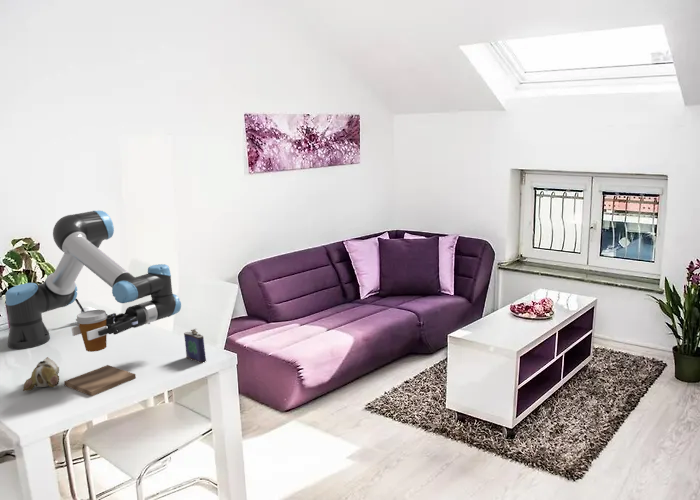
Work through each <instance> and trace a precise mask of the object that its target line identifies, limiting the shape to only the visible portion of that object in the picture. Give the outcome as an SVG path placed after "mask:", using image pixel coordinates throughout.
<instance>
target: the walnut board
mask: <svg viewBox="0 0 700 500" xmlns="http://www.w3.org/2000/svg"><path fill="white" fill-rule="evenodd" d="M136 376H137V375H136V373H133V372H130V371H128V370H124V369H121V368H118V367H115V366H111V365H109V364H106V365H103V366H101V367H98V368H96V369H93V370H91V371H88V372H86V373H82V374H80V375H78V376H75V377H72V378H70V379H66V380H64V381H63V383H64V386H65V387H67V388H70V389H72V390H76V391H78V392H80V393H82V394H85V395H87V396H90V397H94V396H95V395H99V394H101V393H103V392H106V391H109V390H110V389H114V388H115V387H119V386H120V385H122V384H125V383H127V382H128V383H129V382H130V381H133V380H135V379H136V378H137V377H136Z"/></svg>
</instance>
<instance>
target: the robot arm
mask: <svg viewBox="0 0 700 500" xmlns="http://www.w3.org/2000/svg"><path fill="white" fill-rule="evenodd" d="M114 229H115V227H114V223H113V220H112V218H111V216H110V215H109V214H108V213H107V212H106V211H103V210H92V211H87V212H81V213H75V214H67V215H65V216H62V217H61V218H60V219H58V220H57V221H56V222H55V224H54V227H53V229H52V237H53V241H54V243H55V245H56V246H57V247H58V248H59V250H60V251H62V252H63V253H64V254H63V255H62V257H61V259H59V260H60V261H59V263H58V264H57V266H56V268H55V270H54V272H51V273H50V274H49V275H47V277H46V278H45V281H44V282H43V283H39V284H37V283H34V282H26V283H21V284H18V285H14V286H13V287H10V288H9V289H8V290H7V291H6V292H5V304H6V310H7V316H8V320H9V321H8V322H9V331H8V336H7V347H8V348H10V349H15V350H16V349H17V350H19V349H28V348H29V349H30V348H33V347H38V346H41V345H43V344H45V343H47V342H49V341H50V340H51V336H50V335H51V334H50V333H49V330H48V329H47V327H46V325H45V324H44V323H45V322H44V321H43V315H42V314H43V313H47V312H49V311H53V310H57V309H59V308H65V307H67V306H69V305H71V304H74V303H75V302H76V301H75V299H77V297H78V292H77V291H78V285H77V284H76V280H77V278H78V276H79V275H80V273H81V271H82V270H83V267H84V266H85V267H86V268H87V269H88V270H90V271H91V272H92V273H93V274H94V275H95V276H97V277H99V279H101V281H103V282H104V283H105V284H107V285H108V286H109V287H110V288H111V293H112V296H113V297H114V299H115V302H117V303H120V304H127V303H131V302H134V301H136V300H139V299H143V298H145V297H149V296H150V298H151V300H148V301H144V302H140V303H138V304H136V305H131V306H128V307H127V308H126V310H125V312H124V313H118V314H117V313H115V312H113V313H111V314H107V315H108V316H107V318H106V326H104V327H101V328H98V329H94V330H91V331H88V332H87V338H88V340H92V339H95V338H98V337H101V336H104V335H106V336H108V335H114V336H115V335H118V334H120V333H123V332H125V331H128V330H129V329H132V328H134V329H135V328H138V327H139V328H140V327H141V326H144V325H151V323H153V322H156V321H159V320H161V319H166V318H170V317H172V316H174V315H177V314H178V313H179V312H180V311H181V308H182V302H181V300H180V297H179V296H178V295H177V294H174V293H173V287H172V286H173V285H172V275H171V270H170V267H169V265H167V264H163V263H161V264H153V265H150V266H148V267H147V273H145V274H143V275H139V276H134V275H132V274H131V273H130V272H128V271H127V270H126V268H124V267H123V266H121V265H120V264H119V263H117V262H116V261H115V260H114V259H112V258H111V257H110V256H109V255H107V254H106V253H105V252H104V251H102V250H101V249H99V248H100V247H101V245H102V243H103V241H105V240H106V241H107V240H109V239H111V238H113V235H114V232H115V230H114ZM71 334H72V336H73V337H75V336H77V335H78V336H79V335H82V334H81V331H80V328H79V325H75V326H73V327H71Z"/></svg>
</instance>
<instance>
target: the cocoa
mask: <svg viewBox="0 0 700 500" xmlns="http://www.w3.org/2000/svg"><path fill="white" fill-rule="evenodd" d="M74 302H76V303H77V305H78V307H79V309H80V313H82V312H85V311H90V310H97V309H96V308H94V307H90V306H84V307H83V306H82V304H81V303H80V302H79V299H78V298H76V299H75V301H74Z"/></svg>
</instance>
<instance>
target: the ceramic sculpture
mask: <svg viewBox="0 0 700 500" xmlns="http://www.w3.org/2000/svg"><path fill="white" fill-rule="evenodd" d="M59 374H60V366H58V364H57V363H56V362H55V361H54V360H53V359H50V358H49V356H47V357H46V358H45V359H43V360H42V361H39V362H38V363H37V364H36V366H35V367H34V369H33V371H32V372H31V376H30V378H28V379H26V380H25V382H24V384H23V390H22V391H23V392H28V391H32V390H34V389H35V387H36V388H47V387H51V388H55V387H57V386H58V385H59V383H60V375H59Z"/></svg>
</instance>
